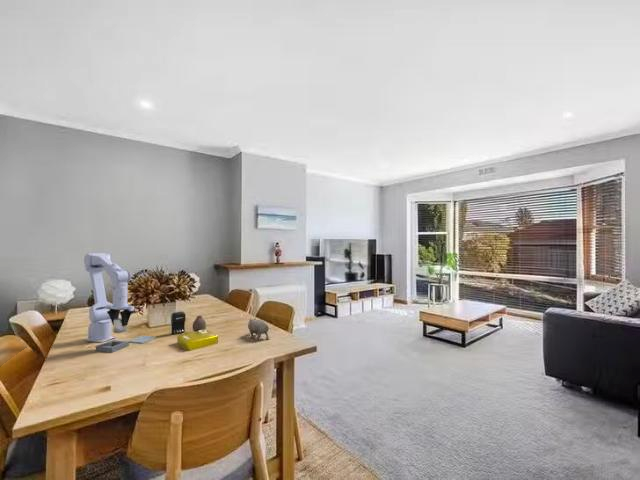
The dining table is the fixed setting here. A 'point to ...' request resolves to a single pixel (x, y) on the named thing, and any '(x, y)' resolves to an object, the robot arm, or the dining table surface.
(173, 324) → the battery charger
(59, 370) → the dining table surface
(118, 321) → the shiny metal cylinder
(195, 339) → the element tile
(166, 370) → the dining table surface
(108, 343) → the frame
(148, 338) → the mat
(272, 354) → the dining table surface
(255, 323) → the rhinoceros figurine
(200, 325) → the vase
